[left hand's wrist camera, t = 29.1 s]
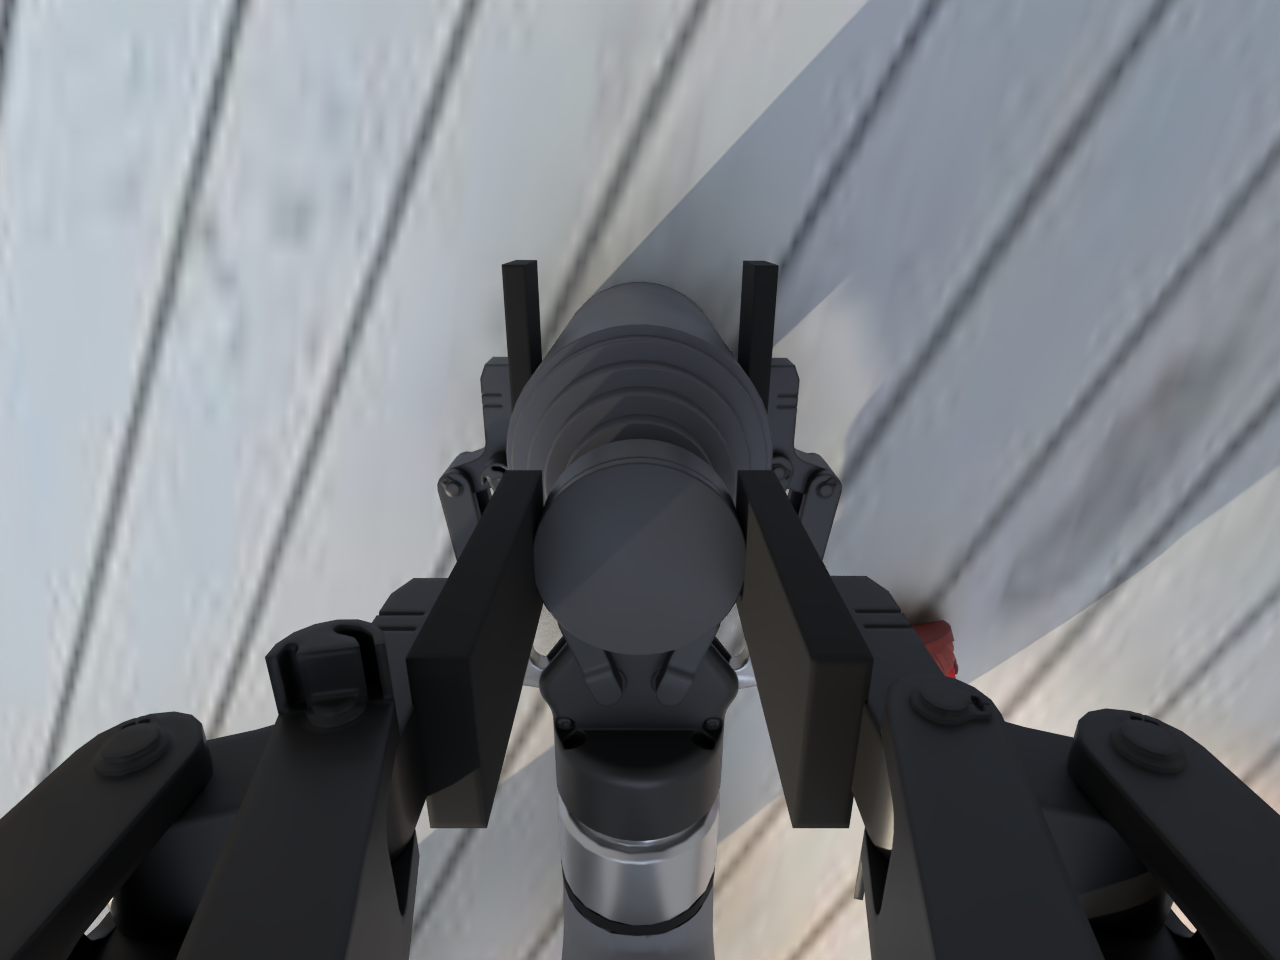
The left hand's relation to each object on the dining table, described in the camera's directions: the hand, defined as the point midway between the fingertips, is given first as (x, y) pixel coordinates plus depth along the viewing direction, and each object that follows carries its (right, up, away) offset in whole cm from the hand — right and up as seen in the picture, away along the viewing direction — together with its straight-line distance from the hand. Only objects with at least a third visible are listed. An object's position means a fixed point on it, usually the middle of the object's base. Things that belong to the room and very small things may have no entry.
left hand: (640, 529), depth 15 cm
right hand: (0, +8, +9) cm, 12 cm away
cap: (0, 0, -1) cm, 1 cm away
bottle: (0, +6, +16) cm, 18 cm away
